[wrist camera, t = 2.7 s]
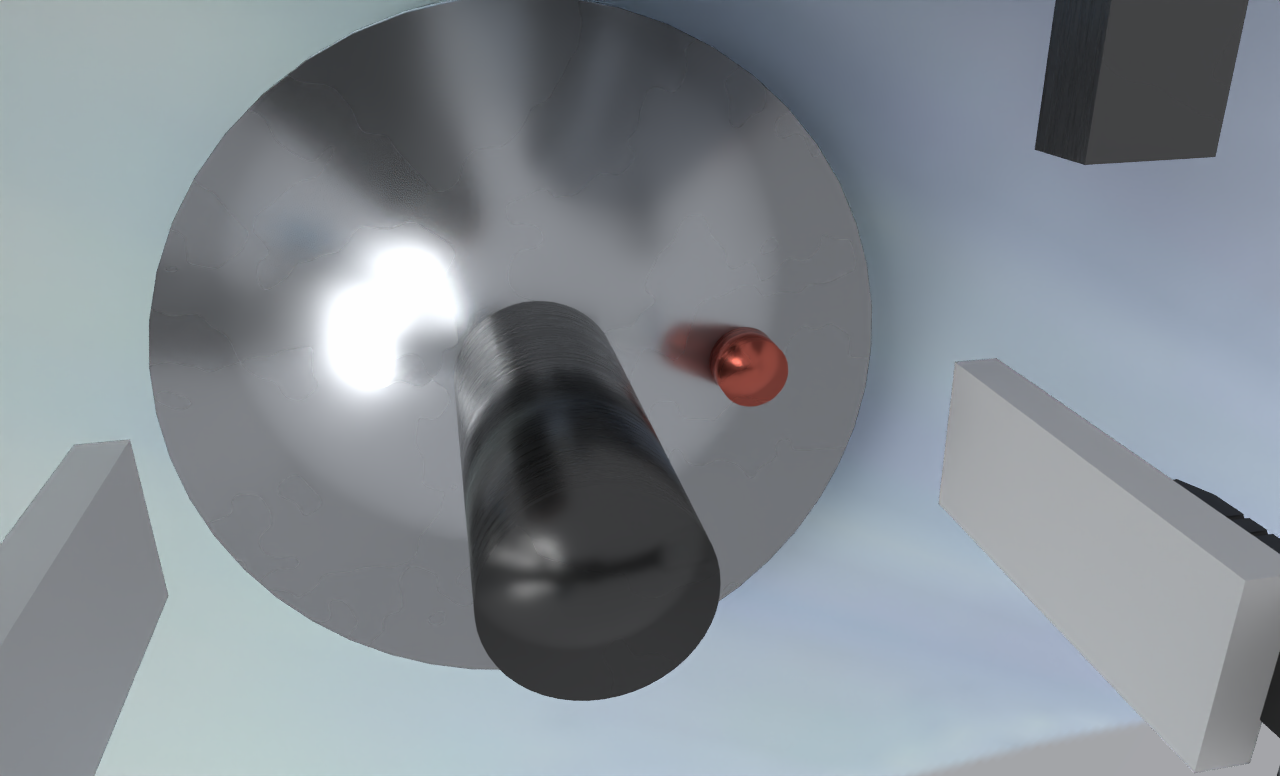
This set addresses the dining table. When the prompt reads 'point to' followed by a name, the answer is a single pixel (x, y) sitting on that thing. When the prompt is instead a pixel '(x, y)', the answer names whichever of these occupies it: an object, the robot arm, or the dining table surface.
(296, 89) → the lid
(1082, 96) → the pot
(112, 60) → the dining table surface
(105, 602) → the robot arm
